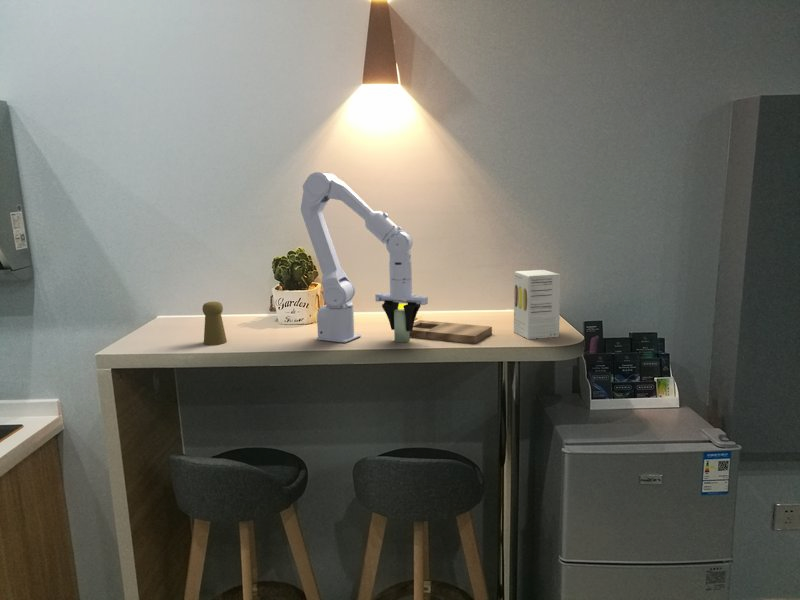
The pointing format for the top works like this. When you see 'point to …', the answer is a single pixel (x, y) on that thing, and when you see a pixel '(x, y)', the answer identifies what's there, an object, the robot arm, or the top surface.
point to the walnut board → (450, 331)
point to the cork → (213, 324)
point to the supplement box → (536, 303)
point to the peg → (400, 326)
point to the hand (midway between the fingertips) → (401, 329)
